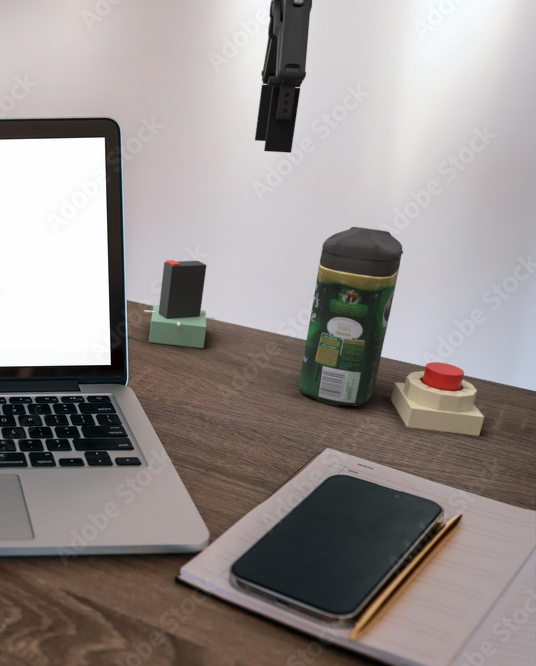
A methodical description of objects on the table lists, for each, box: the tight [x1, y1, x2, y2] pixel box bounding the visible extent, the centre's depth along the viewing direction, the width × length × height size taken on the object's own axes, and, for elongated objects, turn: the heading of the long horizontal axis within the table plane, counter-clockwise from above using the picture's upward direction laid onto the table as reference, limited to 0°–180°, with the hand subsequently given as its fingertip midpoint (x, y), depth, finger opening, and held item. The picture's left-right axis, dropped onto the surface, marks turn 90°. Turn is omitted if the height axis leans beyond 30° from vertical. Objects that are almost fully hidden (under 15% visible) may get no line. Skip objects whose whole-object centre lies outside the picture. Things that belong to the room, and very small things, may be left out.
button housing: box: [390, 370, 485, 437], centre depth 82 cm, size 7×7×4 cm
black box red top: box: [158, 259, 207, 318], centre depth 101 cm, size 5×2×7 cm, turn 109°
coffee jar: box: [298, 226, 404, 407], centre depth 85 cm, size 10×8×19 cm
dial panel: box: [143, 304, 216, 349], centre depth 102 cm, size 9×9×3 cm
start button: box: [422, 361, 465, 392], centre depth 81 cm, size 4×4×2 cm
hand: (271, 146), depth 88 cm, fingers open, 13 cm apart
